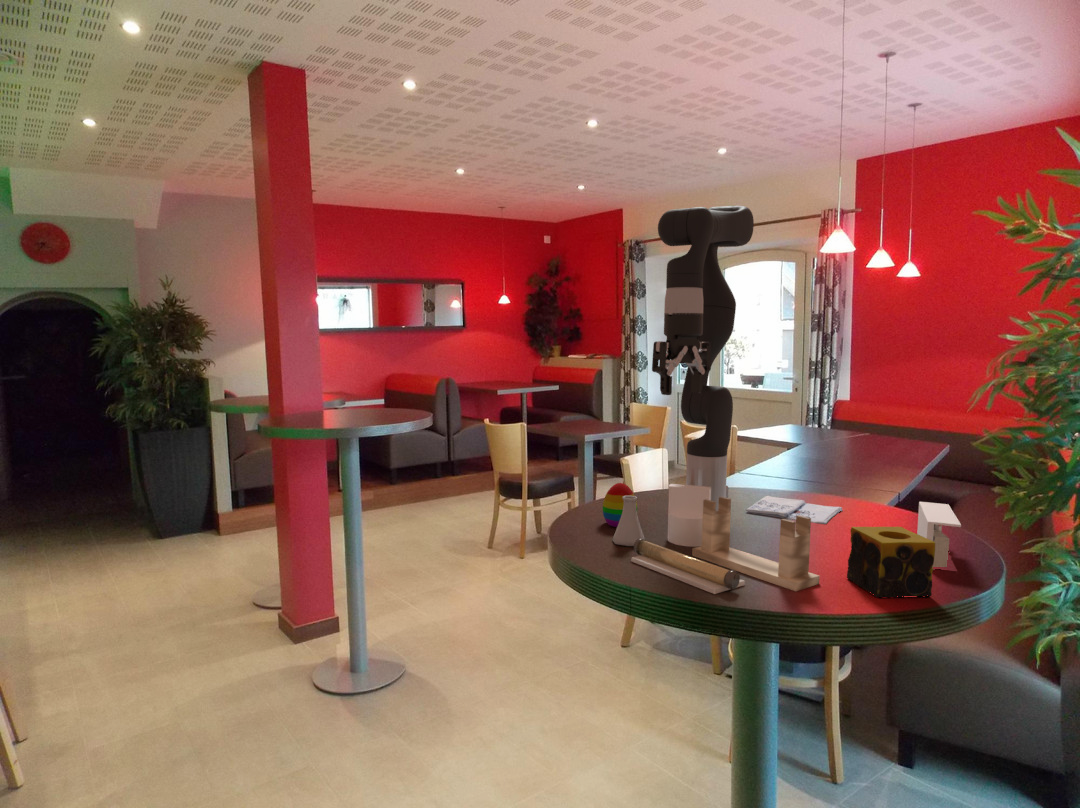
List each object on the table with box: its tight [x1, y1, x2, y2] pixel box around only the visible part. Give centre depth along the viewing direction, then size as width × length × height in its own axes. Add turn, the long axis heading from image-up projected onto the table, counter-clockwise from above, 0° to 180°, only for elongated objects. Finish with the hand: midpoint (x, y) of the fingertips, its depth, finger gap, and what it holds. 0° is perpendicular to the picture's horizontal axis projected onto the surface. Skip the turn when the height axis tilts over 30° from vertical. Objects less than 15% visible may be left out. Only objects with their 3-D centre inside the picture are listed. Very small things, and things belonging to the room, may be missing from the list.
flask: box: [611, 495, 646, 547], centre depth 147 cm, size 7×7×10 cm
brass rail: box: [633, 538, 741, 590], centre depth 128 cm, size 24×3×3 cm
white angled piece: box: [916, 501, 962, 567], centre depth 140 cm, size 20×6×9 cm, turn 156°
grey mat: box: [630, 555, 746, 595], centre depth 128 cm, size 8×21×1 cm, turn 35°
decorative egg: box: [602, 482, 638, 528], centre depth 162 cm, size 8×8×10 cm
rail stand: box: [691, 497, 821, 592], centre depth 131 cm, size 7×24×12 cm, turn 35°
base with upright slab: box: [667, 483, 711, 548], centre depth 149 cm, size 9×9×12 cm
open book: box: [745, 495, 844, 525], centre depth 177 cm, size 19×20×2 cm
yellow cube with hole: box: [846, 526, 935, 598], centre depth 121 cm, size 10×10×10 cm
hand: (681, 393), depth 136 cm, fingers open, 8 cm apart
